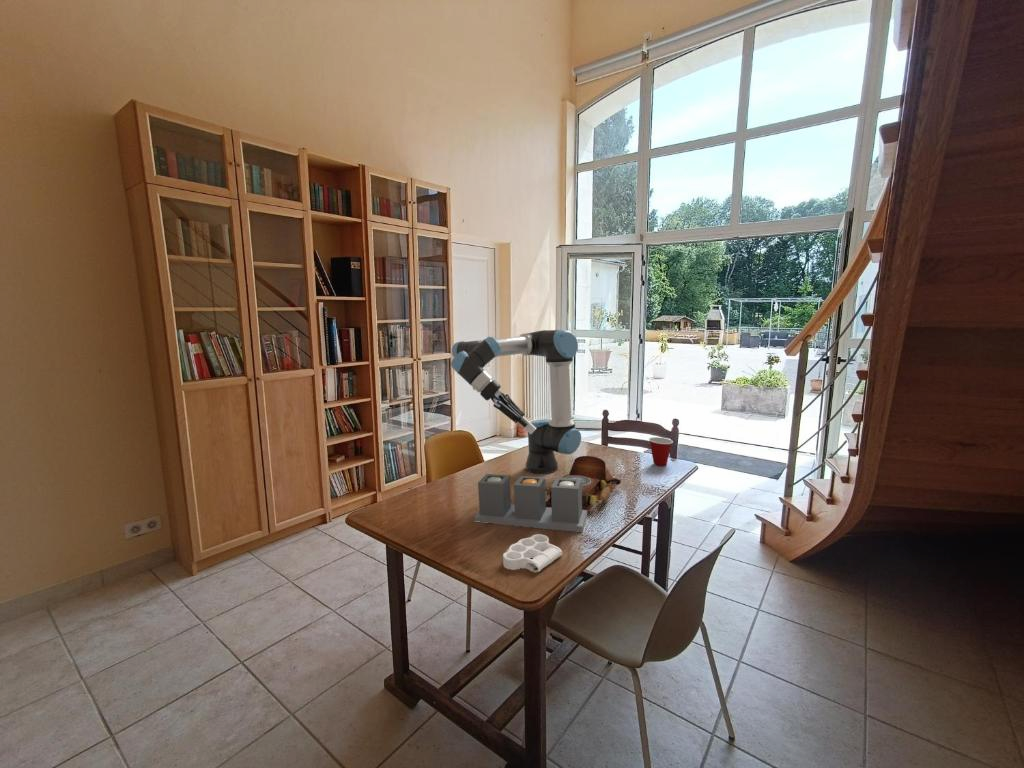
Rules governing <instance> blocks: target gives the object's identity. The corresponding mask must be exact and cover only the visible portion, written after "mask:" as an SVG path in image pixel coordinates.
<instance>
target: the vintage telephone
mask: <svg viewBox="0 0 1024 768" xmlns="http://www.w3.org/2000/svg"><path fill="white" fill-rule="evenodd" d="M561 478H564V479H581V480H582V510H587V513H588V512H589V511H590V510H591V509H592V508H593V507H594V506H595V505H596V503H599V504H602V503H603V501H605V500H607V498H609V497H610V494H611V493H612V491H613V490H614V489H615V487H616V486H619V485H620V484H621V479H619V478H617V477H613V476H612V474H611V472H610V471H609V470H608V467H607V466H606V462H605V461H604V460H603V459H602V458H599V457H597V456H594V455H581V456H578V457H577V456H576V457H575V458H574V460H573V462H572V466H571V468H570V471H569V474H566V475H564V476H562V477H561ZM545 492H546V496H549V498H548V499H546V507H551V508H552V500H551V487H549V488H545Z"/></svg>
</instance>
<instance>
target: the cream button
mask: <svg viewBox="0 0 1024 768" xmlns="http://www.w3.org/2000/svg"><path fill="white" fill-rule="evenodd" d="M559 486H566V487H574V483H573V482H570V481H563V482H560V483H559Z"/></svg>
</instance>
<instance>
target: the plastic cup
mask: <svg viewBox="0 0 1024 768" xmlns="http://www.w3.org/2000/svg"><path fill="white" fill-rule="evenodd" d="M648 440H649V443H650V449H651V456H652V461H653V464H655V466H657V467H665V466H667V464H668V461H669V455H670V450H671V446H672V444H673V443H674V441H673V440H672V439H669V438H665V437H659V436H658V437H657V436H656V437H655V436H654V437H653V436H652V437H650V438H648Z"/></svg>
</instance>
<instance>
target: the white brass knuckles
mask: <svg viewBox="0 0 1024 768" xmlns="http://www.w3.org/2000/svg"><path fill="white" fill-rule="evenodd" d="M505 551H506V552H503V554H502V561H503V562H502V563H503V567H504V568H505V569H507V570H510V569H511V571H517V569H518V570H520V568H521V569H527V570H529V571H530V572H533V573H539V572H541V571H542V570H543V569H544V568H545V567H547V566H548V565H550V564H552V563H553V562H554V561H555V560H557V559H558V558H559V557H561V556H562V555H563V551H562V549H561V548H560V547H558V546H556V545H554V544H552V543H550V538H549V537H548V536H547V535H545V534H540V533H539V534H538V533H537V534H533V535H532V536H530V537H526V538H525V537H524V538H521V539H519V540H518V541H517V542H516V543H512V544H511V545H510V546H509V547H508V549H505ZM530 558H533V559H530ZM534 568H535V569H534ZM534 570H535V571H534Z"/></svg>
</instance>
